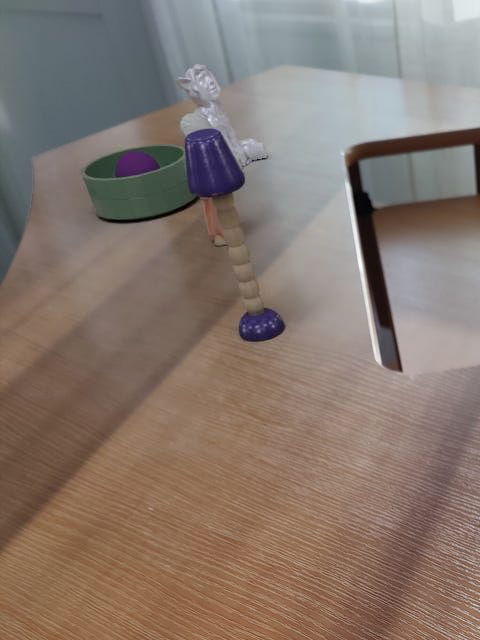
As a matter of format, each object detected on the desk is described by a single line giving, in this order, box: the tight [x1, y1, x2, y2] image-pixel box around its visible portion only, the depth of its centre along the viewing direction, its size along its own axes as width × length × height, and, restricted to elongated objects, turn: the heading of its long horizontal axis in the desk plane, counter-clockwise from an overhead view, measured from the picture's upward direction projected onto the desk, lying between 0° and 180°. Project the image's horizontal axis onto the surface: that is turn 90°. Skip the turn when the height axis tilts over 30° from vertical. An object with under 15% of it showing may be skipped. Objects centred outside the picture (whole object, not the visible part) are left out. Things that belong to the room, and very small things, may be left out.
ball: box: [115, 151, 160, 178], centre depth 109 cm, size 6×6×6 cm
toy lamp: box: [184, 129, 286, 342], centre depth 75 cm, size 5×5×17 cm
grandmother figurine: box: [179, 112, 228, 247], centre depth 95 cm, size 8×4×13 cm, turn 6°
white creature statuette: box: [176, 63, 268, 171], centre depth 115 cm, size 10×9×12 cm
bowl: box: [79, 143, 197, 221], centre depth 109 cm, size 13×13×5 cm
